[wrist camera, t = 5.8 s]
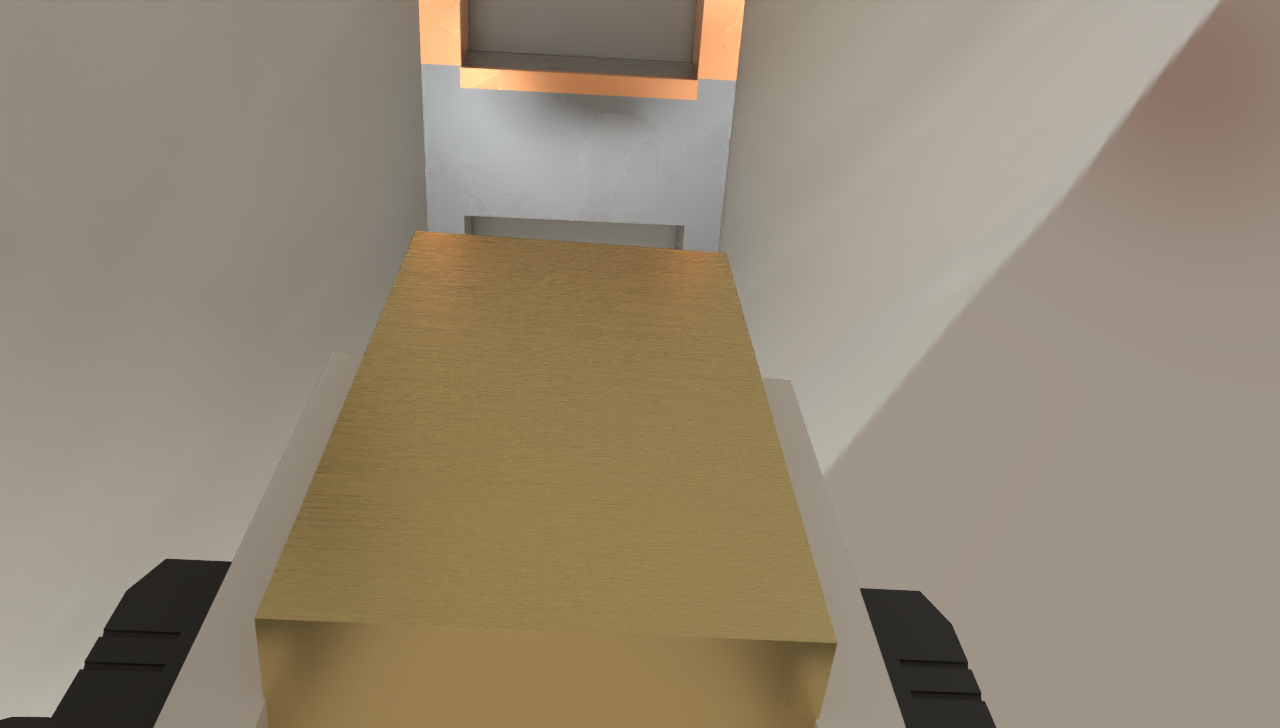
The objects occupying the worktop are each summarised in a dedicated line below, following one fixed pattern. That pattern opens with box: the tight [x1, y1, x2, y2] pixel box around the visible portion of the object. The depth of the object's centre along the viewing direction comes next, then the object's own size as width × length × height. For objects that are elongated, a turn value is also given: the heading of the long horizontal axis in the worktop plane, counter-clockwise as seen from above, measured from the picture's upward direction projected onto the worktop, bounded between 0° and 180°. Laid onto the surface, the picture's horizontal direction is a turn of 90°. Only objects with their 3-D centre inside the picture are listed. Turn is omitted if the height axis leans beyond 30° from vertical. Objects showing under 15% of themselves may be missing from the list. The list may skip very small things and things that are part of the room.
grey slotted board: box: [419, 0, 745, 252], centre depth 28 cm, size 8×20×2 cm, turn 176°
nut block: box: [254, 231, 837, 728], centre depth 13 cm, size 4×4×8 cm
